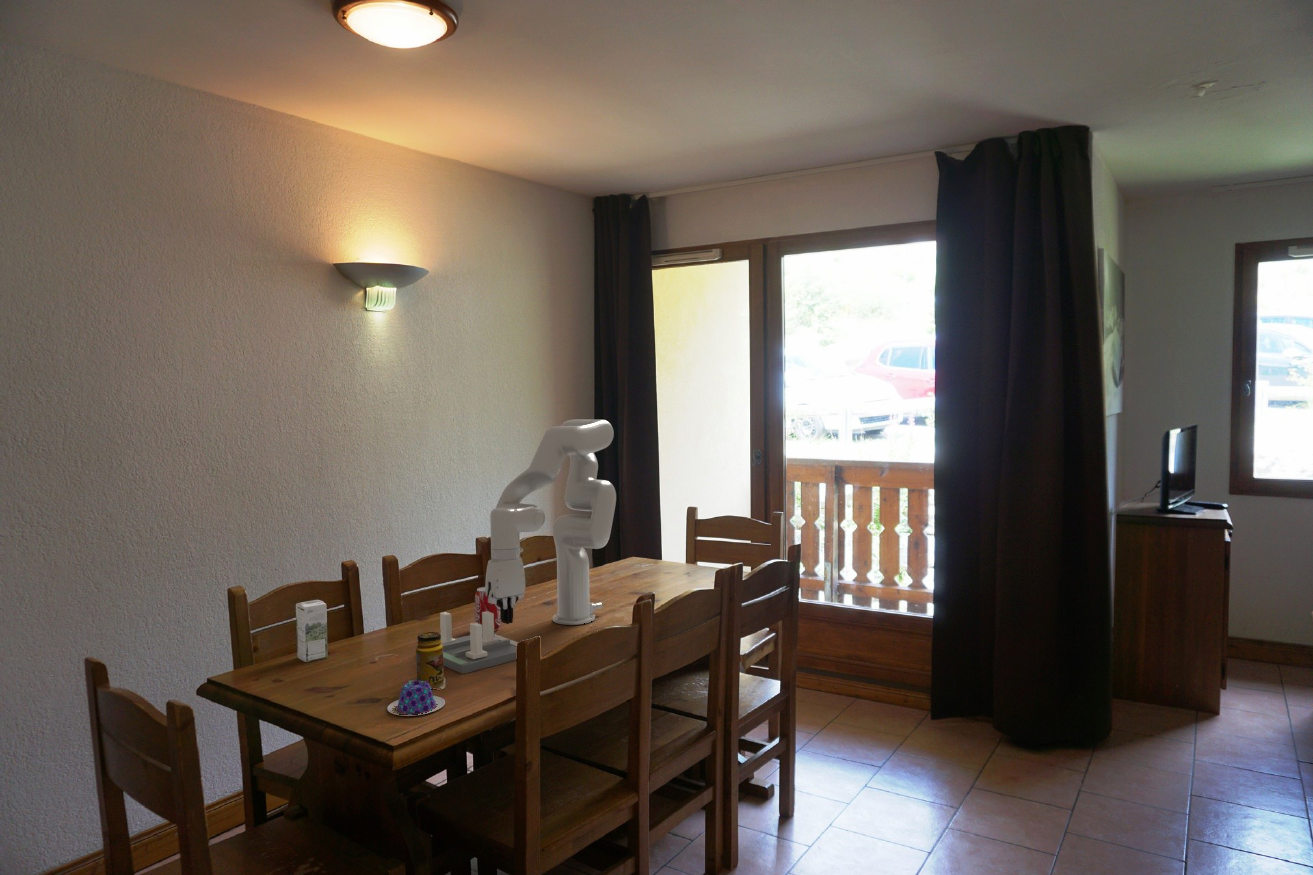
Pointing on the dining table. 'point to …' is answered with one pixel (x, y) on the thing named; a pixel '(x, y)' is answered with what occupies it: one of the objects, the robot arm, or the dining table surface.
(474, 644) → the post
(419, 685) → the pudding
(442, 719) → the dining table surface
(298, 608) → the syrup box
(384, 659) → the dining table surface
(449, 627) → the post
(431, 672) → the condiment
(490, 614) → the post
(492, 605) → the soda can
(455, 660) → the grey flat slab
